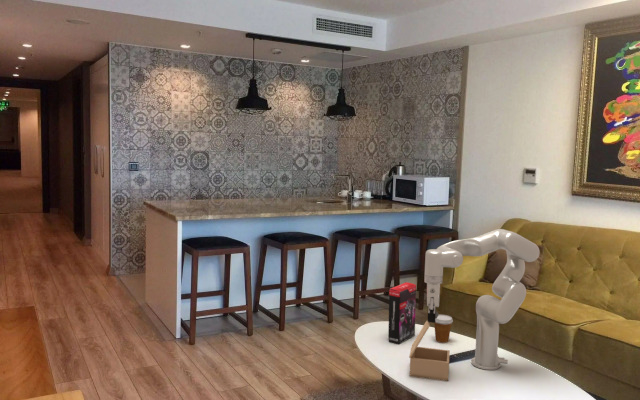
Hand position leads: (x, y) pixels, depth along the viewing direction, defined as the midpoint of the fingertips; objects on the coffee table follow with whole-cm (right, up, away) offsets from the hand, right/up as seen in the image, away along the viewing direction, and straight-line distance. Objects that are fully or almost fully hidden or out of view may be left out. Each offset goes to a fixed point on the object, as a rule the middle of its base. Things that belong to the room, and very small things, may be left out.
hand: (431, 319), depth 235 cm
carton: (0, -23, +3) cm, 23 cm away
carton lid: (-2, -6, +1) cm, 6 cm away
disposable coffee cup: (+13, -19, +40) cm, 47 cm away
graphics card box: (-7, -19, +41) cm, 46 cm away
